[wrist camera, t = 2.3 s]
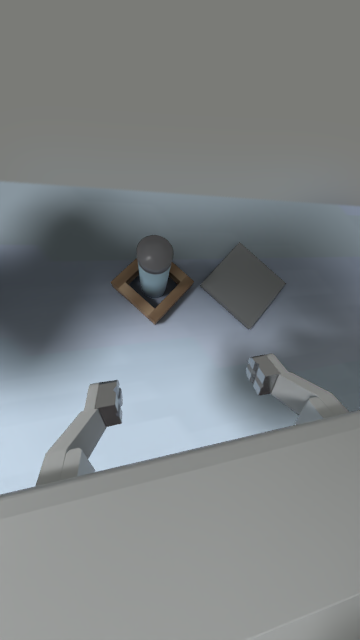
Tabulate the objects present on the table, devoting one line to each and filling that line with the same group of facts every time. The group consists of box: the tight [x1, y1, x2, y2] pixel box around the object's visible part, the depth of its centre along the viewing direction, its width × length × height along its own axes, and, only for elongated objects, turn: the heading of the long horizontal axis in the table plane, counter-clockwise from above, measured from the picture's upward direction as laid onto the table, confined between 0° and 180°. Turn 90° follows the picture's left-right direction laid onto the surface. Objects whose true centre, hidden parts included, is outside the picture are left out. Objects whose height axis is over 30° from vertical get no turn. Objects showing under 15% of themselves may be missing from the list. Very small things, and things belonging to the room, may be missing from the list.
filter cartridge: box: [137, 235, 173, 298], centre depth 27 cm, size 4×4×11 cm
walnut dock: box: [111, 258, 194, 324], centre depth 31 cm, size 9×9×2 cm
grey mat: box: [200, 242, 286, 329], centre depth 34 cm, size 11×11×1 cm
